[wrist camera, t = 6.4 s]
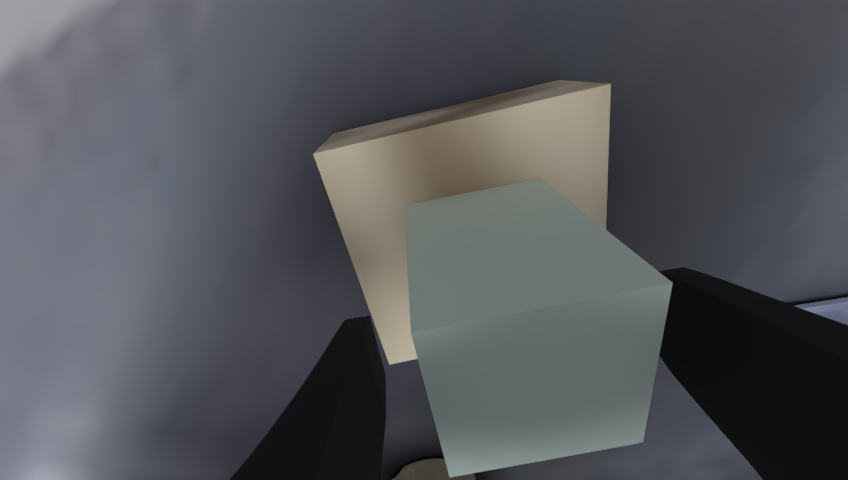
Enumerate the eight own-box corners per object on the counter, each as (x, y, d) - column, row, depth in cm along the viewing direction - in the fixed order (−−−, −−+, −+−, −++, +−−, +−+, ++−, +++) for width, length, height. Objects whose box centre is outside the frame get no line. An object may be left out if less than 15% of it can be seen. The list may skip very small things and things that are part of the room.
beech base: (554, 79, 14) (611, 83, 10) (561, 268, 18) (603, 319, 14) (334, 131, 14) (313, 153, 10) (391, 305, 18) (389, 364, 14)
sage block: (540, 177, 11) (672, 282, 6) (543, 289, 13) (642, 442, 8) (404, 205, 11) (410, 332, 6) (428, 311, 13) (449, 477, 8)
